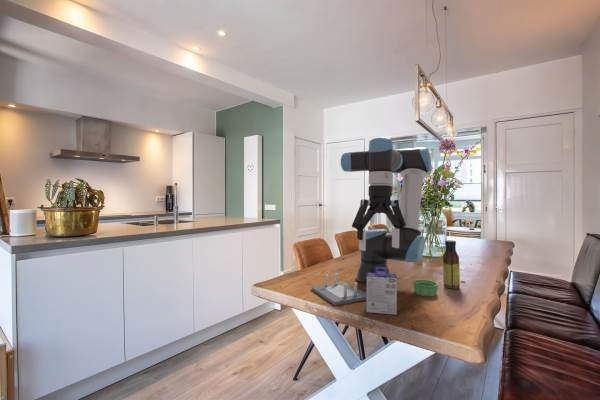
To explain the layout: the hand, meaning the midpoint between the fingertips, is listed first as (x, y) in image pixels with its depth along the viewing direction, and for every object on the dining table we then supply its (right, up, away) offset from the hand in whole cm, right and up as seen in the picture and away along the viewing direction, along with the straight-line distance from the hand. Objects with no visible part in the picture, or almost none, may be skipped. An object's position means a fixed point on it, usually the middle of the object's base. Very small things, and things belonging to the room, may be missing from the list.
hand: (379, 248), depth 95 cm
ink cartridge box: (+1, -21, 0) cm, 21 cm away
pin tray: (-11, -21, +16) cm, 28 cm away
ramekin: (+23, -21, +18) cm, 36 cm away
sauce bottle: (+38, -21, +26) cm, 50 cm away
